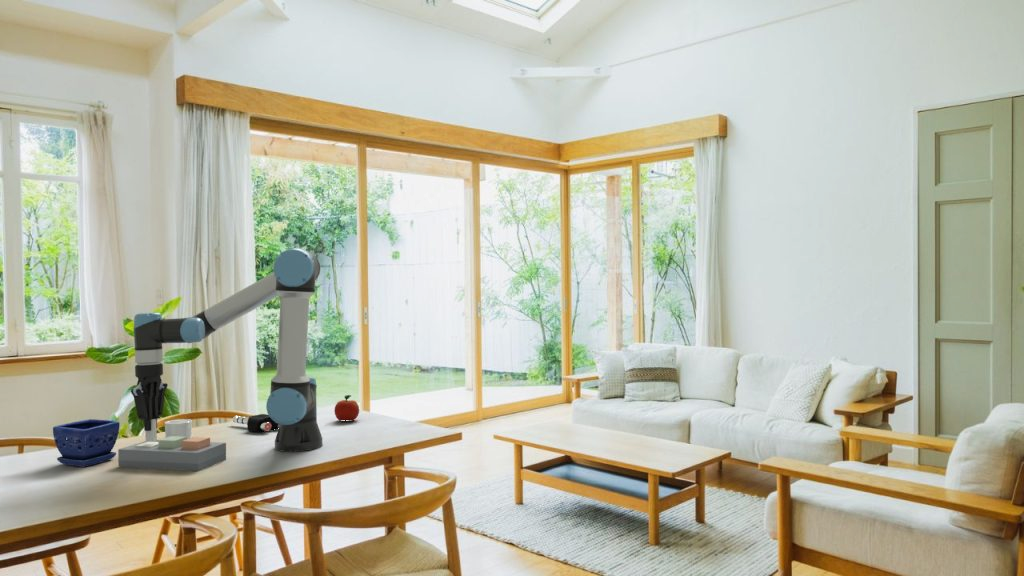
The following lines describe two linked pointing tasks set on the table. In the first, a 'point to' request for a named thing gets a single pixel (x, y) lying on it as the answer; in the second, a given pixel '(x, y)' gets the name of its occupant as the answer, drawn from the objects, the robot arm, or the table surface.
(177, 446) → the key sage
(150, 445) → the key offwhite
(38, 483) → the table surface
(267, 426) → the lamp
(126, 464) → the key panel
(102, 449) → the flower pot
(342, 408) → the fruit
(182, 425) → the white cup
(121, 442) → the table surface
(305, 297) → the robot arm
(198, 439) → the key terracotta
